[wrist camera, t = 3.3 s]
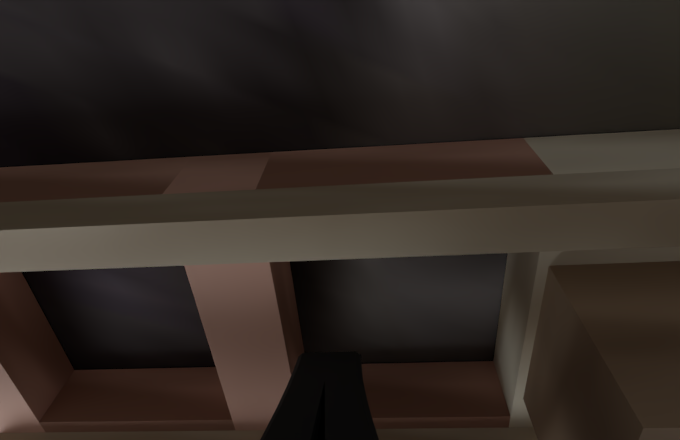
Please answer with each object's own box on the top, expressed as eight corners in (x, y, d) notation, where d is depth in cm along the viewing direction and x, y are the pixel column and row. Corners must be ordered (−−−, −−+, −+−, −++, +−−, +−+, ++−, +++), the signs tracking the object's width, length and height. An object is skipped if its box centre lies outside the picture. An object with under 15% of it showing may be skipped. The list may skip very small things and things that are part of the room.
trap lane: (945, 384, 14) (1099, 501, 11) (50, 399, 17) (-19, 500, 14) (1199, 99, 10) (1571, 168, 7) (-88, 172, 12) (-239, 248, 9)
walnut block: (696, 395, 12) (828, 573, 9) (523, 398, 12) (584, 570, 9) (764, 257, 10) (978, 424, 6) (548, 265, 10) (643, 427, 7)
